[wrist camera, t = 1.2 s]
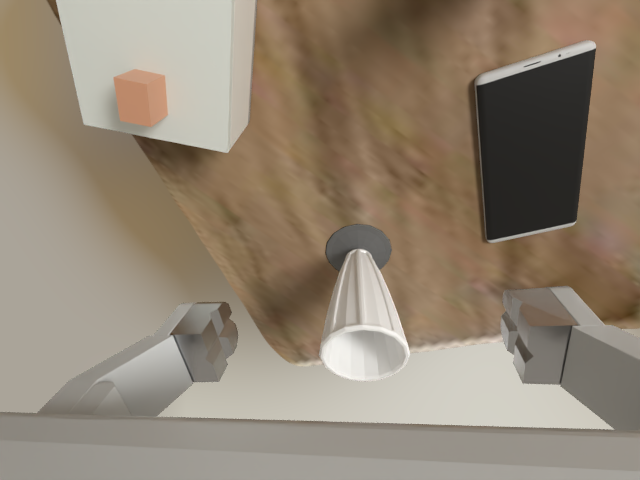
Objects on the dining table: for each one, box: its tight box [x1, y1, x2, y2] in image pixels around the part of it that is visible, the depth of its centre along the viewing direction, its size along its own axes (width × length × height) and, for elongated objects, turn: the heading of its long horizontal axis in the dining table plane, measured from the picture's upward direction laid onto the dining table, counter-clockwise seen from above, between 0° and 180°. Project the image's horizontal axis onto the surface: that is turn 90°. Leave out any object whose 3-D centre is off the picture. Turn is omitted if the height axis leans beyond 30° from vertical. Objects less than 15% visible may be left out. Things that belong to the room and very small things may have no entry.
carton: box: [230, 0, 257, 149], centre depth 37 cm, size 22×16×10 cm
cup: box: [319, 224, 410, 382], centre depth 52 cm, size 12×12×22 cm
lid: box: [56, 0, 235, 153], centre depth 31 cm, size 22×16×5 cm
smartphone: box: [475, 40, 596, 243], centre depth 49 cm, size 13×27×2 cm, turn 19°
